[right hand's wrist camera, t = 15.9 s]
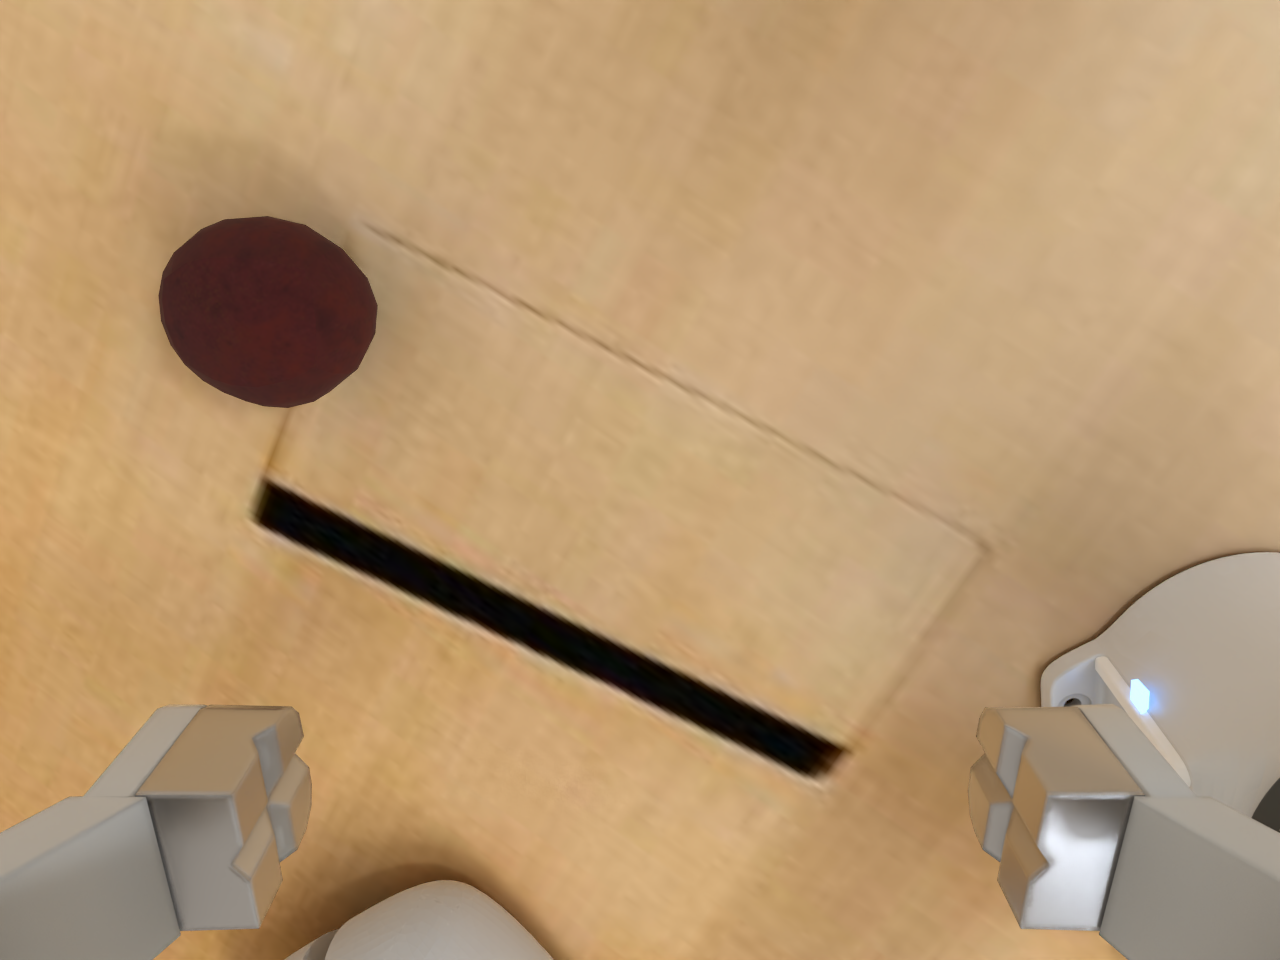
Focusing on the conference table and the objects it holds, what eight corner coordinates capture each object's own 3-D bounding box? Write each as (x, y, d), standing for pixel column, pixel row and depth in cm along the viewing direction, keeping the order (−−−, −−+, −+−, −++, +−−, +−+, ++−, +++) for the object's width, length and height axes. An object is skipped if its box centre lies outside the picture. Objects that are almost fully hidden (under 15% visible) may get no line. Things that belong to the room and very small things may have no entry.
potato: (197, 210, 37) (100, 227, 30) (385, 206, 36) (329, 223, 30) (231, 384, 39) (148, 434, 33) (406, 380, 39) (358, 430, 33)
